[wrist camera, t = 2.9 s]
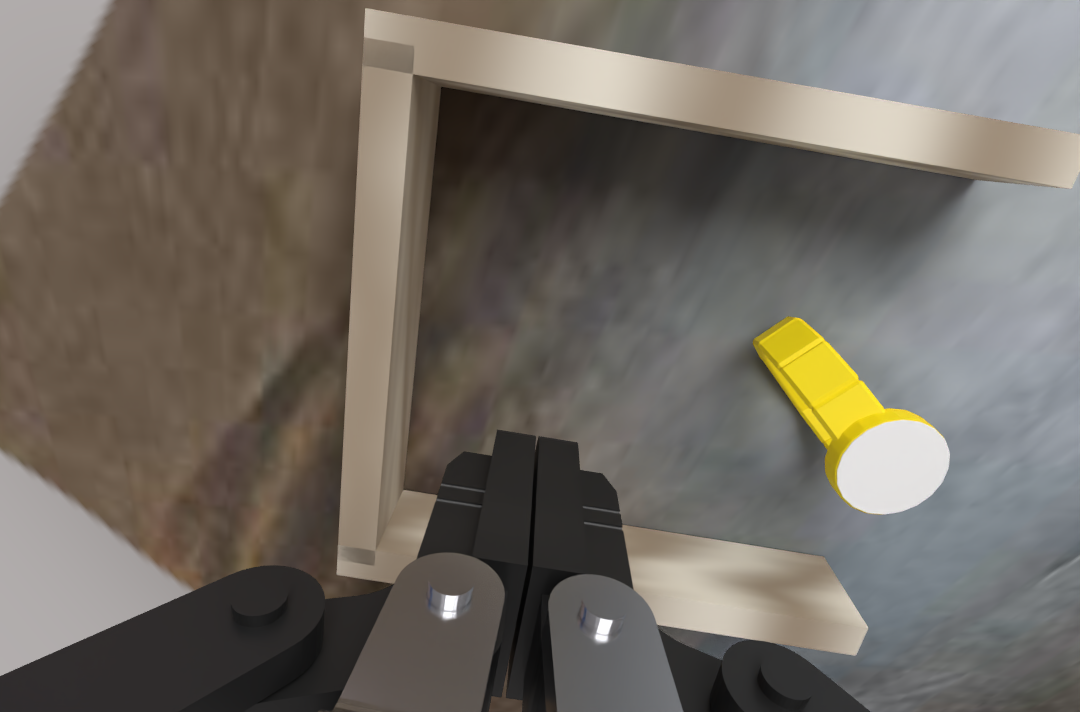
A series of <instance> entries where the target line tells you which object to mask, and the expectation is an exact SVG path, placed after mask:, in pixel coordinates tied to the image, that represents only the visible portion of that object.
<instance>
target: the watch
mask: <svg viewBox="0 0 1080 712" xmlns="http://www.w3.org/2000/svg"><path fill="white" fill-rule="evenodd" d="M753 345H754V347H755V349H756V351H757V353H758V355H759V357H760V359H761V360H763V362H764V363H765V364H766V366H767V367H768V369H769V370H770V372H771V373H772V374H773V376H774V377H775V379H776V380H777V382H778V383H779V384H780V386H781V387H782V389H783V390H784V392H785V393H786V394H787V396H788V397H789V399H790V400H791V402H792V403H793V404H794V406H795V407H796V409H797V410H798V412H799V413H800V415H801V416H802V417H803V419H804V420H805V421H806V422H807V424H808V425H809V426H810V428H811V429H812V430H813V432H814V433H815V434H816V436H817V437H818V438H819V440H820V441H821V442H822V443H824V446H825V447H826V449H827V450H828V451H827V454H826V456H825V473H826V475H827V478H828V480H829V482H830V484H831V486H832V487H833V488H834V490H835V491H836V492H837V494H838V495H839V496H840V497H841V498H842V499H843V500H844V501H845V502H846V503H847V504H848V505H849V506H850V507H852V508H854V509H857V510H859V511H862V512H864V513H869V514H879V515H884V514H890V513H897V512H902V511H904V510H907V509H909V508H912V507H914V506H916V505H918V504H920V503H921V502H922V501H924V500H925V499H927V498H928V497H929V496H931V495H932V494H933V493H934V491H935V490H936V489H937V488H938V487H939V486H940V484H941V483H942V482H943V480H944V477H945V475H946V473H947V471H948V468H949V457H950V452H949V449H948V446H947V444H946V441H945V439H944V437H943V436H942V435H941V434H940V433H939V432H938V431H937V430H936V429H935V428H934V427H933V426H932V425H931V424H929V423H928V422H927V421H925V420H924V419H923V418H922V417H920V416H918V415H916V414H914V413H911V412H909V411H907V410H900V409H891V408H889V409H884V408H883V407H882V405H881V404H880V403H879V401H878V400H877V399H876V398H875V396H874V395H873V394H872V393H871V391H870V390H869V389H868V387H867V386H866V385H865V384H864V382H863V381H859V380H858V379H859V378H858V375H857V374H856V373H855V372H854V371H853V370H852V369H851V367H850V366H849V365H848V364H847V363H846V362H845V361H844V360H843V359H842V358H841V356H840V355H839V354H838V353H837V352H836V351H835V350H834V349H833V348H832V346H831V345H830V344H829V343H828V342H826V341H825V340H824V338H823V337H822V336H821V335H819V334H818V333H817V332H816V331H815V330H814V329H813V328H811V327H810V326H809V325H808V324H807V323H806V322H805V321H803V320H801V318H795V317H789V316H788V317H786V318H785V319H783V320H782V321H780V322H779V323H777V324H776V325H774V326H773V327H771V328H770V329H768V330H767V331H765V332H764V333H762V334H761V335H759V336H758V337H756V338H755V339H754V340H753Z"/></svg>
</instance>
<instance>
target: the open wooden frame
mask: <svg viewBox="0 0 1080 712" xmlns="http://www.w3.org/2000/svg"><path fill="white" fill-rule="evenodd" d="M441 87H446V88H452V89H458V90H463V91H469V92H475V93H481V94H486V95H492V96H498V97H504V98H509V99H515V100H521V101H527V102H532V103H538V104H544V105H550V106H555V107H561V108H567V109H572V110H578V111H584V112H590V113H595V114H601V115H607V116H613V117H618V118H624V119H630V120H636V121H641V122H647V123H653V124H659V125H664V126H670V127H676V128H682V129H687V130H693V131H699V132H704V133H710V134H716V135H722V136H727V137H733V138H739V139H745V140H750V141H756V142H762V143H768V144H773V145H779V146H785V147H791V148H796V149H802V150H808V151H814V152H819V153H825V154H831V155H836V156H842V157H848V158H854V159H859V160H865V161H871V162H877V163H882V164H888V165H894V166H900V167H905V168H911V169H917V170H923V171H928V172H934V173H940V174H946V175H951V176H957V177H963V178H968V179H974V180H983V181H993V182H1004V183H1014V184H1025V185H1035V186H1046V187H1056V188H1066V189H1072V187H1073V184H1074V182H1075V180H1076V178H1077V176H1078V174H1079V171H1080V134H1075V133H1069V132H1064V131H1058V130H1052V129H1047V128H1041V127H1035V126H1030V125H1024V124H1018V123H1013V122H1007V121H1001V120H996V119H990V118H984V117H979V116H973V115H967V114H962V113H956V112H950V111H945V110H939V109H933V108H928V107H922V106H916V105H911V104H905V103H899V102H894V101H888V100H882V99H877V98H871V97H865V96H860V95H854V94H848V93H843V92H837V91H831V90H826V89H820V88H815V87H809V86H803V85H798V84H792V83H786V82H781V81H775V80H769V79H764V78H758V77H752V76H747V75H741V74H735V73H730V72H724V71H718V70H713V69H707V68H701V67H696V66H690V65H684V64H679V63H673V62H667V61H662V60H656V59H650V58H645V57H639V56H633V55H628V54H622V53H616V52H611V51H605V50H599V49H594V48H588V47H582V46H577V45H571V44H565V43H560V42H554V41H548V40H543V39H537V38H531V37H526V36H520V35H514V34H509V33H503V32H497V31H492V30H486V29H480V28H475V27H469V26H463V25H458V24H452V23H446V22H441V21H435V20H429V19H424V18H418V17H412V16H407V15H401V14H396V13H390V12H384V11H379V10H373V9H367V8H365V27H364V47H363V67H362V86H361V106H360V126H359V145H358V165H357V185H356V205H355V224H354V244H353V264H352V283H351V303H350V323H349V342H348V362H347V382H346V401H345V421H344V441H343V461H342V480H341V500H340V520H339V539H338V559H337V575H341V576H348V577H354V578H361V579H367V580H373V581H380V582H386V583H393V584H394V583H395V581H396V578H397V577H398V575H399V574H400V572H401V571H402V570H403V569H404V568H405V567H406V566H407V565H408V564H410V563H411V562H413V561H414V560H416V559H417V556H418V552H419V549H420V546H421V543H422V540H423V537H424V534H425V531H426V528H427V525H428V522H429V519H430V516H431V513H432V510H433V507H434V504H435V501H436V499H437V495H433V494H427V493H420V492H414V491H408V490H403V488H404V477H405V467H406V456H407V445H408V435H409V424H410V413H411V403H412V392H413V382H414V371H415V360H416V350H417V339H418V328H419V318H420V307H421V297H422V286H423V275H424V265H425V254H426V243H427V233H428V222H429V212H430V201H431V190H432V180H433V169H434V158H435V148H436V137H437V127H438V116H439V105H440V95H441ZM622 526H623V527H622V530H623V532H624V537H625V543H626V549H627V554H628V560H629V566H630V571H631V577H632V583H633V588H634V591H636V592H637V593H638V594H639V595H640V596H641V597H642V598H643V599H644V600H645V601H646V602H647V604H648V605H649V607H650V608H651V610H652V612H653V615H654V617H655V620H656V623H657V625H662V626H668V627H675V628H681V629H688V630H694V631H701V632H707V633H713V634H720V635H726V636H733V637H739V638H745V639H752V640H759V641H766V642H771V643H778V644H784V645H790V646H797V647H803V648H810V649H816V650H822V651H829V652H835V653H842V654H848V655H854V656H856V654H857V652H858V650H859V648H860V645H861V643H862V641H863V639H864V637H865V635H866V632H867V630H868V627H867V625H866V623H865V622H864V620H863V619H862V617H861V615H860V614H859V612H858V611H857V609H856V607H855V606H854V604H853V603H852V601H851V599H850V598H849V596H848V595H847V593H846V591H845V590H844V588H843V587H842V585H841V583H840V582H839V580H838V579H837V577H836V576H835V574H834V572H833V571H832V569H831V568H830V566H829V564H828V563H827V561H826V560H825V558H824V557H822V556H816V555H809V554H803V553H797V552H791V551H784V550H778V549H772V548H766V547H759V546H753V545H747V544H740V543H734V542H728V541H722V540H715V539H709V538H703V537H696V536H690V535H684V534H678V533H671V532H665V531H659V530H653V529H646V528H640V527H634V526H627V525H622Z"/></svg>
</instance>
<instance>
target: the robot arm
mask: <svg viewBox="0 0 1080 712" xmlns="http://www.w3.org/2000/svg"><path fill="white" fill-rule="evenodd" d="M535 442H536V436H533V435H527V434H521V433H515V432H509V431H502V430H497V434H496V439H495V444H494V449H493V454H492V456H489V455H483V454H477V453H471V452H463V453H462V454H460V455H459V456H458V457H457V458H455V459H454V460H453V461H451V462H450V463H449V464H448V465H447V468H446V471H445V474H444V477H443V480H442V484H441V486H440V489H439V492H438V495H437V499H436V501H435V504H434V507H433V510H432V513H431V516H430V519H429V522H428V525H427V528H426V531H425V534H424V537H423V540H422V543H421V546H420V549H419V552H418V556H417V559H416V560H414V561H413V562H411V563H410V564H408V565H407V566H406V567H405V568H404V569H403V570H402V571H401V572H400V574H399V575H398V577H397V578H396V581H395V583H394V584H393V585H391V586H389V587H387V588H385V589H383V590H380V591H377V592H374V593H370V594H366V595H359V596H351V597H342V598H332V599H325V596H324V592H323V589H322V587H321V585H320V584H319V583H318V582H317V580H316V579H314V578H313V577H312V576H311V575H309V574H307V573H305V572H303V571H301V570H298V569H295V568H291V567H286V566H260V567H254V568H249V569H246V570H242V571H239V572H236V573H234V574H231V575H229V576H227V577H224V578H222V579H220V580H217V581H215V582H213V583H211V584H208V585H206V586H204V587H202V588H199V589H197V590H195V591H193V592H190V593H188V594H186V595H184V596H181V597H179V598H177V599H174V600H172V601H170V602H168V603H165V604H163V605H161V606H159V607H156V608H154V609H152V610H149V611H147V612H145V613H143V614H140V615H138V616H136V617H133V618H131V619H129V620H127V621H124V622H122V623H120V624H118V625H115V626H113V627H111V628H108V629H106V630H104V631H102V632H99V633H97V634H95V635H93V636H90V637H88V638H86V639H83V640H81V641H79V642H77V643H74V644H72V645H70V646H68V647H65V648H63V649H61V650H58V651H56V652H54V653H52V654H49V655H47V656H45V657H43V658H40V659H38V660H36V661H34V662H31V663H29V664H27V665H24V666H22V667H20V668H18V669H15V670H13V671H11V672H9V673H6V674H4V675H2V676H0V712H488V711H489V706H490V701H491V696H495V697H501V696H502V691H503V686H504V681H505V676H506V671H507V666H508V661H509V669H508V680H507V692H506V698H511V699H517V700H523V703H522V712H870V711H869V710H868V709H866V708H865V707H864V706H863V705H862V704H860V703H859V702H858V701H857V700H855V699H854V698H853V697H852V696H850V695H849V694H848V693H847V692H846V691H844V690H843V689H842V688H841V687H839V686H838V685H837V684H836V683H835V682H833V681H832V680H831V679H830V678H828V677H827V676H826V675H825V674H823V673H822V672H821V671H820V670H819V669H817V668H816V667H815V666H814V665H812V664H811V663H810V662H808V661H807V660H806V659H804V658H803V657H801V656H800V655H798V654H796V653H795V652H793V651H791V650H789V649H787V648H785V647H782V646H779V645H777V644H774V643H770V642H766V641H759V640H746V641H742V642H738V643H736V644H734V645H732V646H731V647H730V648H729V649H728V650H727V651H726V653H725V655H724V657H723V660H719V659H717V658H715V657H712V656H710V655H708V654H705V653H703V652H700V651H698V650H696V649H693V648H691V647H688V646H686V645H684V644H682V643H680V642H678V641H676V640H674V639H673V638H671V637H669V636H668V635H666V634H665V633H663V632H662V631H661V630H659V629H658V627H657V623H656V620H655V617H654V615H653V612H652V610H651V608H650V607H649V605H648V604H647V602H646V601H645V600H644V599H643V598H642V597H641V596H640V595H639V594H638V593H637V592H636V591H634V588H633V583H632V577H631V571H630V566H629V560H628V554H627V549H626V543H625V537H624V532H623V530H622V527H623V526H622V520H621V515H620V514H619V512H620V509H619V503H618V498H617V492H616V490H615V489H614V488H613V487H612V485H611V484H610V483H609V481H608V480H607V479H606V478H605V476H604V475H603V474H602V473H595V472H589V471H583V470H580V464H579V451H578V443H577V442H571V441H565V440H558V439H552V438H546V437H540V436H539V437H538V441H537V445H536V450H535ZM509 656H510V657H509Z"/></svg>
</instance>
